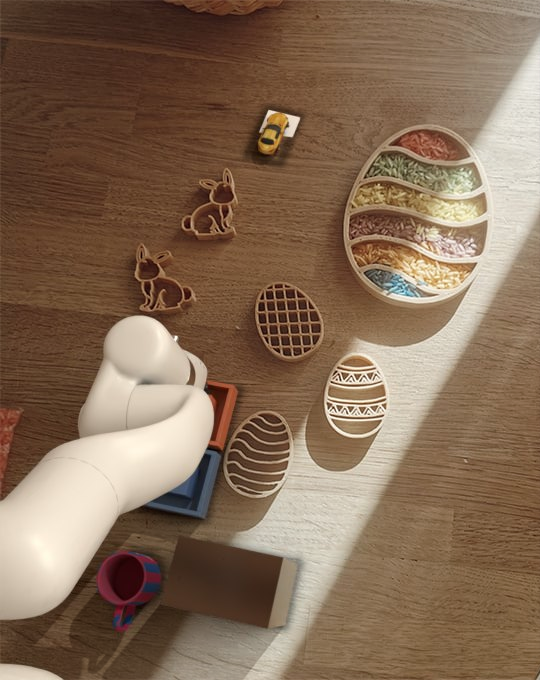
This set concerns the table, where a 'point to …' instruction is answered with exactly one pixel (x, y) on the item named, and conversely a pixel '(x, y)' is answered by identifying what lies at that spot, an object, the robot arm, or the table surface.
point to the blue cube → (187, 486)
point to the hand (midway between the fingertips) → (198, 413)
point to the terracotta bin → (221, 412)
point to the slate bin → (201, 494)
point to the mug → (127, 583)
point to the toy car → (276, 131)
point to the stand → (230, 583)
